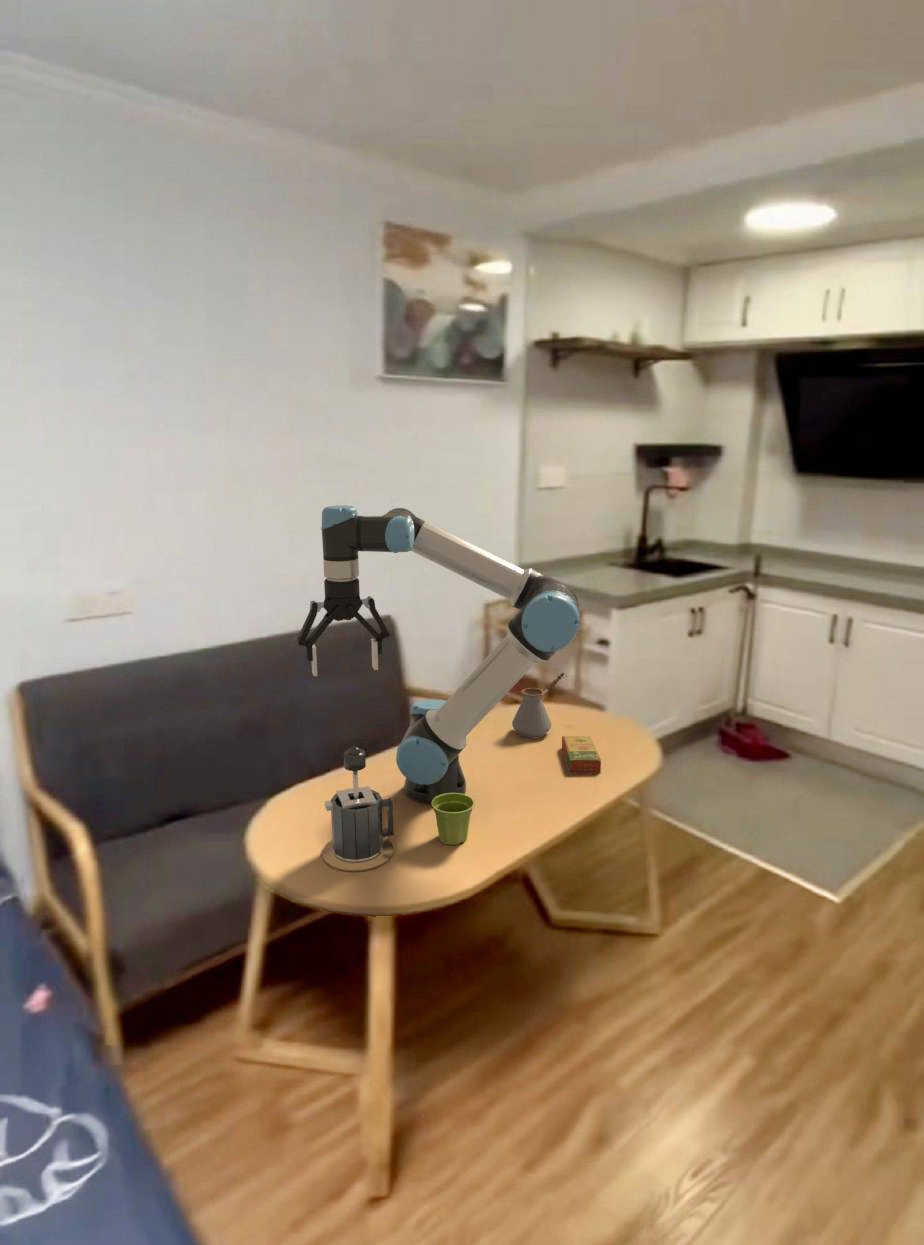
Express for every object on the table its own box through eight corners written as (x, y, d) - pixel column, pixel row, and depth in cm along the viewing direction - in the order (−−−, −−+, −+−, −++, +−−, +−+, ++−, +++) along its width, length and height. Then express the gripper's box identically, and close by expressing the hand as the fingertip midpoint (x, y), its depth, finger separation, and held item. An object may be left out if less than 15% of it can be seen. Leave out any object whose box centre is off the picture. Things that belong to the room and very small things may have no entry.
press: (385, 829, 178) (383, 775, 175) (402, 864, 164) (401, 806, 161) (317, 840, 173) (314, 785, 170) (329, 877, 160) (326, 818, 156)
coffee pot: (534, 744, 224) (535, 694, 220) (503, 733, 232) (504, 684, 228) (578, 723, 239) (580, 676, 235) (548, 713, 247) (549, 668, 243)
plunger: (370, 829, 172) (367, 738, 167) (377, 845, 166) (374, 751, 161) (338, 834, 170) (334, 742, 165) (344, 851, 164) (340, 756, 158)
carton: (590, 749, 222) (591, 735, 220) (601, 774, 206) (602, 759, 205) (560, 749, 221) (561, 735, 220) (569, 774, 206) (570, 759, 205)
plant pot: (434, 826, 180) (434, 791, 177) (476, 828, 179) (476, 793, 176) (428, 848, 171) (428, 811, 168) (472, 850, 170) (472, 813, 167)
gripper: (393, 571, 179) (395, 660, 184) (280, 578, 171) (286, 671, 176) (401, 577, 172) (403, 670, 178) (285, 585, 164) (290, 682, 170)
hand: (345, 671), depth 177 cm, fingers open, 13 cm apart
